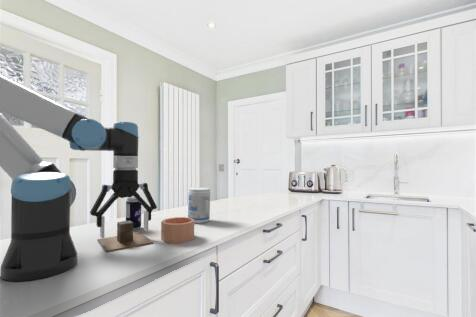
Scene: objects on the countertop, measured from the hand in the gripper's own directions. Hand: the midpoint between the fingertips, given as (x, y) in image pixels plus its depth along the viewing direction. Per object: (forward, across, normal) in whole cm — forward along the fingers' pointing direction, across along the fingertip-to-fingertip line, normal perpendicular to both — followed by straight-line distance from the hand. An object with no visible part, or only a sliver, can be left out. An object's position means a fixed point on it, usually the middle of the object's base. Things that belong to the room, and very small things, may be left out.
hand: (125, 233), depth 86 cm
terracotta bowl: (+3, +16, -6) cm, 17 cm away
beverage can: (+3, +7, +16) cm, 18 cm away
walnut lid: (+3, 0, 0) cm, 3 cm away
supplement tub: (+3, +34, +12) cm, 36 cm away
